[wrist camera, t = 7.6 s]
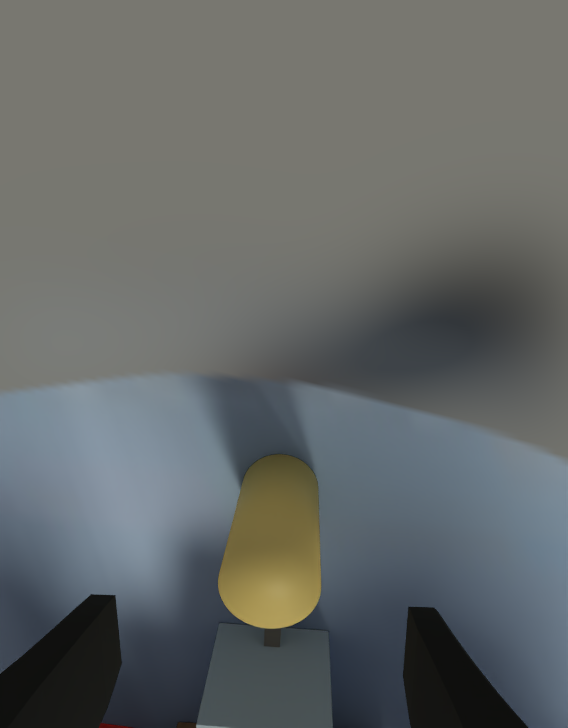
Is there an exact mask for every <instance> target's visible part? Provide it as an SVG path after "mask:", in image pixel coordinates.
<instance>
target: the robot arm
mask: <svg viewBox="0 0 568 728" xmlns="http://www.w3.org/2000/svg"><path fill="white" fill-rule="evenodd" d="M121 664H122V661H121V651H120V640H119V630H118V619H117V609H116V598H115V595H92V594H91V595H90V596H89V597H88V598H87V599H86V600H84V601H83V602H82V603H81V604H80V605H79V606H78V607H77V608H75V609H74V610H73V611H72V612H71V613H70V614H69V615H68V616H67V617H65V618H64V619H63V620H62V621H61V622H60V623H59V624H58V625H57V626H56V627H54V628H53V629H52V630H51V631H50V632H49V633H48V634H47V635H46V636H44V637H43V638H42V639H41V640H40V641H39V642H38V643H36V644H35V645H34V646H33V647H32V648H31V649H30V650H28V651H27V652H26V653H25V654H24V655H23V656H22V657H20V658H19V659H18V660H17V661H15V662H14V663H13V664H12V665H11V666H9V667H8V668H7V669H6V670H4V671H3V672H2V673H1V674H0V728H99V726H100V724H101V721H102V719H103V717H104V714H105V712H106V710H107V708H108V705H109V702H110V699H111V696H112V692H113V689H114V686H115V683H116V680H117V677H118V673H119V670H120V667H121ZM403 679H404V686H405V693H406V700H407V707H408V713H409V720H410V725H411V728H528V727H527V726H526V724H525V723H524V722H523V721H522V720H521V719H520V718H519V717H518V716H517V714H516V713H515V712H514V711H513V710H512V709H511V708H510V706H509V705H508V704H507V703H506V702H505V701H504V699H503V698H502V697H501V696H500V695H499V693H498V692H497V691H496V690H495V689H494V687H493V686H492V685H491V684H490V682H489V681H488V680H487V679H486V677H485V676H484V675H483V673H482V672H481V671H480V670H479V668H478V667H477V666H476V665H475V663H474V662H473V661H472V659H471V658H470V657H469V655H468V654H467V653H466V651H465V650H464V648H463V647H462V646H461V644H460V643H459V642H458V640H457V639H456V637H455V636H454V635H453V633H452V632H451V630H450V629H449V627H448V626H447V624H446V623H445V621H444V620H443V618H442V617H441V615H440V614H439V612H438V611H437V610H436V609H435V608H428V607H408V619H407V632H406V645H405V658H404V671H403Z"/></svg>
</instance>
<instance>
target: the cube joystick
mask: <svg viewBox="0 0 568 728" xmlns="http://www.w3.org/2000/svg"><path fill="white" fill-rule="evenodd" d="M218 589H219V593H220V596H221V599H222V601H223V602H224V604H225V606H226V607H227V608H228V610H229V611H230V612H231V613H232V614H233V615H235V616H236V617H237V618H239V619H240V620H242V621H243V622H246V623H248V624H250V625H241V624H228V623H219V626H218V631H217V635H216V639H215V644H214V648H213V653H212V657H211V662H210V666H209V670H208V675H207V679H206V684H205V688H204V693H203V697H202V701H201V706H200V710H199V715H198V719H197V724H196V728H333V721H332V698H331V676H330V653H329V631H323V630H309V629H296V628H283V627H288V626H291V625H294V624H296V623H298V622H300V621H301V620H303V619H304V618H306V617H307V616H308V615H309V614H310V613H311V612H312V611H313V609H314V608H315V606H316V605H317V603H318V601H319V598H320V593H321V563H320V530H319V497H318V482H317V479H316V477H315V475H314V473H313V471H312V470H311V469H310V467H309V466H308V465H307V464H305V463H304V462H303V461H301V460H299V459H298V458H295V457H293V456H289V455H283V454H275V455H269V456H266V457H263V458H261V459H259V460H258V461H256V462H255V463H254V464H253V465H251V466H250V468H249V469H248V470H247V472H246V474H245V476H244V479H243V483H242V487H241V491H240V495H239V498H238V502H237V506H236V510H235V514H234V518H233V522H232V526H231V530H230V533H229V537H228V541H227V545H226V549H225V553H224V557H223V561H222V565H221V568H220V572H219V576H218Z"/></svg>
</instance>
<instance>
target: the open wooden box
mask: <svg viewBox="0 0 568 728" xmlns="http://www.w3.org/2000/svg"><path fill="white" fill-rule="evenodd" d="M196 724H197V723H184V722H178V724H177V728H196Z"/></svg>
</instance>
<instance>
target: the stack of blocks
mask: <svg viewBox="0 0 568 728" xmlns="http://www.w3.org/2000/svg"><path fill="white" fill-rule="evenodd" d="M99 728H132V727H125V726H118V725H111V724H104V723H101V724H100V726H99Z"/></svg>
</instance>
